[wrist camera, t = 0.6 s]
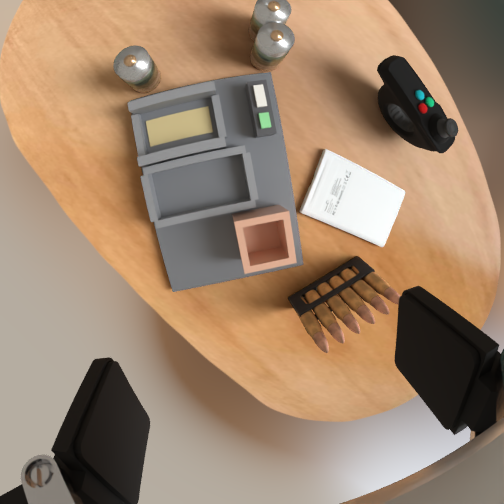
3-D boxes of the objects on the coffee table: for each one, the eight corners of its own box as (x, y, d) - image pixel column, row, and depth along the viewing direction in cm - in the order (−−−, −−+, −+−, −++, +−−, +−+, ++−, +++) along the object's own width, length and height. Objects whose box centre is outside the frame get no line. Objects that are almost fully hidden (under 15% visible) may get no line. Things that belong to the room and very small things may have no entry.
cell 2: (245, 21, 27) (252, -7, 20) (275, 19, 27) (288, -8, 21) (251, 45, 28) (259, 20, 22) (281, 43, 29) (296, 18, 22)
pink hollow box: (231, 213, 33) (234, 221, 28) (279, 204, 33) (289, 211, 29) (240, 259, 34) (244, 273, 30) (286, 249, 35) (296, 262, 30)
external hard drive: (377, 244, 38) (297, 211, 35) (399, 189, 36) (322, 148, 33) (383, 248, 36) (301, 213, 34) (406, 191, 34) (327, 148, 32)
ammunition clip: (357, 255, 37) (407, 291, 26) (362, 266, 38) (411, 305, 26) (287, 297, 38) (314, 350, 26) (293, 308, 38) (322, 362, 27)
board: (132, 102, 29) (121, 95, 25) (269, 74, 30) (275, 64, 26) (173, 288, 36) (169, 302, 32) (301, 262, 37) (310, 273, 33)
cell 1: (129, 70, 27) (110, 50, 21) (159, 61, 28) (146, 39, 21) (132, 97, 29) (113, 81, 22) (162, 88, 29) (150, 70, 22)
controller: (404, 157, 34) (454, 159, 25) (348, 80, 31) (390, 58, 21) (421, 139, 34) (471, 139, 24) (369, 65, 30) (413, 42, 21)
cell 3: (247, 46, 28) (254, 21, 22) (277, 44, 29) (291, 19, 22) (253, 73, 29) (262, 52, 23) (283, 70, 30) (299, 49, 23)
